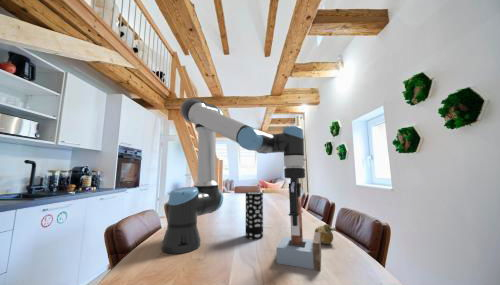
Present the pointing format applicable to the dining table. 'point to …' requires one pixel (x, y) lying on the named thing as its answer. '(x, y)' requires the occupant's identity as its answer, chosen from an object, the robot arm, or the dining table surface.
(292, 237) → the dowel
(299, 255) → the socket block
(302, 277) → the dining table surface
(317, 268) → the walnut wall
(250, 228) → the white-spotted black cylinder
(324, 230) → the onion
